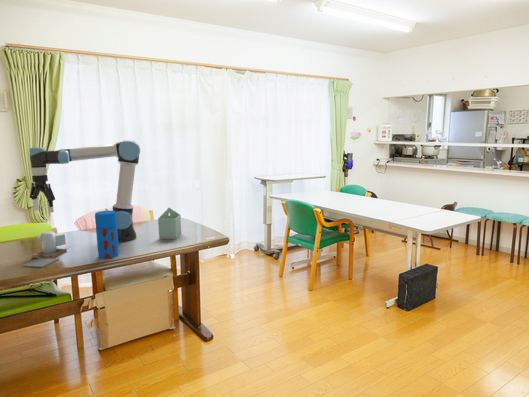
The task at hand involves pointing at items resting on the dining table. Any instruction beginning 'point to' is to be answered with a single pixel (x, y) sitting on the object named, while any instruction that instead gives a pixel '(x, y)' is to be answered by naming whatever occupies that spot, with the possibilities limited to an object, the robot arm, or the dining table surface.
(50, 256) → the frame
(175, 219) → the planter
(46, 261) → the coaster
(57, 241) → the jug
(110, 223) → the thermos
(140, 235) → the dining table surface
